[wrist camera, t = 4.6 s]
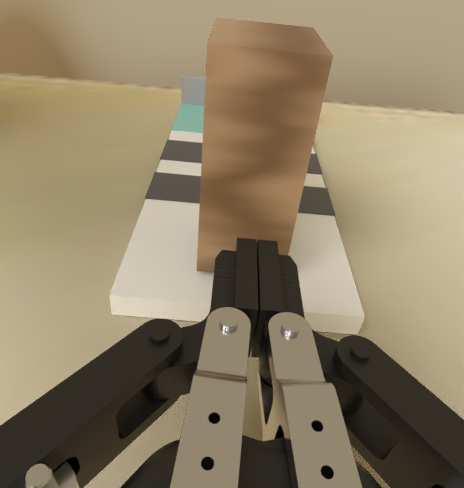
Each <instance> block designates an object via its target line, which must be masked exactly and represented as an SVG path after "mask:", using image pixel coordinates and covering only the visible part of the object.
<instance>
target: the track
mask: <svg viewBox="0 0 464 488" xmlns="http://www.w3.org/2000/svg"><path fill="white" fill-rule="evenodd" d="M205 80H206V77H200V76H190V75H183V76H182V104H181V106H180V108H179V111H178V114H177V116H176V119H175V121H174V124H173V127H172V129H171V134H170V137H169V139H168V140H167V142H166V145H165V147H164V150H163V153H162V155H161V158H160V163H159V166H158V168H157V171H156V172H155V173H154V176H153V178H152V181H151V184H150V186H149V189H148V191H147V194H146V197H145V202H144V205H143V208H142V210H141V213H140V216H139V218H138V221H137V223H136V226H135V229H134V231H133V234H132V237H131V239H130V242H129V244H128V247H127V250H126V252H125V255H124V258H123V260H122V263H121V265H120V268H119V271H118V273H117V276H116V279H115V281H114V284H113V286H112V289H111V292H110V294H109V298H110V306H111V313H112V314H113V315H125V316H137V317H149V318H161V319H174V320H186V321H198V322H201V321H203V320H204V319H205V318H206V317H207V315H208V314H209V312H210V307H211V297H212V287H213V277H214V273H213V272H201V271H197V250H198V229H199V208H200V186H201V165H202V144H203V123H204V102H205ZM288 256H291V258H292V259H293V261H294V262H295V263H296V265H297V269H298V278H299V283H300V285H299V286H300V290H301V297H302V303H303V310H304V316H305V320H307V322H308V323H309V324H310V326H311V329H313V330H314V331H319V332H331V333H343V334H355V335H358V333H359V330H360V328H361V326H362V323H363V321H364V319H365V314H364V311H363V308H362V305H361V301H360V298H359V295H358V292H357V288H356V285H355V282H354V279H353V276H352V272H351V269H350V266H349V263H348V259H347V256H346V253H345V250H344V246H343V243H342V240H341V237H340V233H339V230H338V227H337V224H336V220H335V213H334V210H333V206H332V203H331V200H330V197H329V194H328V190H327V188H325V185H324V181H323V178H322V171H321V168H320V165H319V162H318V158H317V155H316V154H315V152H314V149H313V147H312V152H311V156H310V160H309V165H308V169H307V174H306V178H305V183H304V187H303V192H302V196H301V200H300V205H299V209H298V214H297V218H296V223H295V227H294V232H293V236H292V240H291V245H290V249H289V254H288Z"/></svg>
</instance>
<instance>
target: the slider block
mask: <svg viewBox="0 0 464 488" xmlns="http://www.w3.org/2000/svg"><path fill="white" fill-rule="evenodd" d="M332 58H333V55H332V54H331V52H330V51H329V50H328V48H327V47H326V45H325V44H324V42H323V41H322V40H321V38H320V37H319V35H318V34H317V32H316V31H315V30H314V28H310V27H301V26H291V25H281V24H272V23H263V22H253V21H243V20H235V19H224V18H216V20H215V23H214V26H213V28H212V31H211V34H210V37H209V39H208V43H207V59H206V80H205V102H204V123H203V144H202V165H201V186H200V208H199V229H198V250H197V271H201V272H213V273H214V267H215V258H216V257H217V255H218V254H219V253H220V251H221V250H231V251H235V248H236V240H237V237H238V238H249V239H256V242H257V239H261V240H272V241H277V243H278V253H279V255H288V254H289V249H290V245H291V240H292V236H293V232H294V227H295V223H296V218H297V214H298V209H299V205H300V200H301V196H302V192H303V187H304V183H305V178H306V174H307V169H308V165H309V160H310V156H311V152H312V147H313V143H314V138H315V134H316V129H317V125H318V120H319V116H320V111H321V107H322V103H323V98H324V93H325V89H326V84H327V80H328V75H329V71H330V67H331V63H332Z"/></svg>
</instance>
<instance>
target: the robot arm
mask: <svg viewBox="0 0 464 488" xmlns="http://www.w3.org/2000/svg"><path fill="white" fill-rule="evenodd" d="M299 285H300V283H299V278H298V269H297V265H296V263H295V262H294V261H293V259H292V258H291V256H288V255H279V253H278V243H277V241H272V240H261V239H257V242H256V239H249V238H238V237H237V240H236V248H235V251H231V250H221V251H220V253H219V254H218V255H217V257H216V258H215V267H214V277H213V287H212V297H211V307H210V312H209V314H208V315H207V317H206V318H205V319H204V320H203V321H201V322H200V323H198V324H195V325H192V326H187V327H182V328H180V327H179V325H177V324H176V323H175V322H173V321H171V320H168V319H153V320H150V321H148V322H146V323H144V324H143V325H141V326H140V327H139V328H137V329H136V330H134V331H133V332H132V333H130V334H129V335H127V336H126V337H125V338H123V339H122V340H120V341H119V342H118V343H116V344H115V345H113V346H112V347H110V348H109V349H108V350H106V351H105V352H103V353H102V354H101V355H99V356H98V357H96V358H95V359H94V360H92V361H91V362H89V363H88V364H87V365H85V366H84V367H82V368H81V369H79V370H78V371H77V372H75V373H74V374H72V375H71V376H70V377H68V378H67V379H65V380H64V381H63V382H61V383H60V384H58V385H57V386H56V387H54V388H53V389H51V390H50V391H48V392H47V393H46V394H44V395H43V396H41V397H40V398H39V399H37V400H36V401H34V402H33V403H32V404H30V405H29V406H27V407H26V408H25V409H23V410H22V411H20V412H19V413H18V414H16V415H15V416H13V417H12V418H10V419H9V420H8V421H6V422H5V423H3V424H2V425H1V426H0V488H83V487H84V486H85V485H87V484H88V483H89V482H90V481H91V480H92V479H93V478H94V477H95V476H96V475H97V474H98V473H99V472H101V471H102V470H103V469H104V468H105V467H106V466H107V465H108V464H109V463H110V462H111V461H112V460H113V459H114V458H116V457H117V456H118V455H119V454H120V453H121V452H122V451H123V450H124V449H125V448H126V447H127V446H128V445H130V444H131V443H132V442H133V441H134V440H135V439H136V438H137V437H138V436H139V435H140V434H141V433H142V432H144V431H145V430H146V429H147V428H148V427H149V426H150V425H151V424H152V423H153V422H154V421H155V420H156V419H158V418H159V417H160V416H161V415H162V414H163V413H164V412H165V411H166V410H167V409H168V408H169V407H170V406H172V405H173V404H174V403H175V402H176V401H177V400H178V398H179V397H180V395H184V394H188V393H190V395H189V399H188V404H187V409H186V414H185V418H184V423H183V428H182V433H181V437H180V439H179V440H176V441H173V442H171V443H169V444H167V445H165V446H164V447H162V448H160V449H159V450H157V451H156V452H155V453H154V454H153V455H151V456H150V457H149V458H148V459H147V460H146V461H145V462H144V463H143V464H142V465H141V466H140V467H139V468H138V470H137V471H136V472H135V473H134V474H133V475H132V476H131V477H130V478H129V479H128V480H127V481H126V482H125V483H124V484H123V485H122V487H121V488H382V487H381V486H380V485H379V484H378V482H377V481H376V480H375V479H374V478H373V477H372V476H371V474H370V473H369V472H368V471H367V470H366V469H365V468H364V467H362V466H361V465H360V464H359V463H358V462H356V461H355V459H354V455H353V452H352V448H351V445H352V446H353V447H354V448H355V449H356V450H357V451H358V452H359V454H360V455H361V456H362V457H363V458H364V459H365V460H366V461H367V462H368V463H369V464H370V466H371V467H372V468H373V469H374V470H375V471H376V472H377V473H378V474H379V475H380V476H381V478H382V479H383V480H384V481H385V482H386V483H387V484H388V485H389V486H390V487H391V488H464V420H463V419H462V418H461V417H460V416H459V415H457V414H456V413H455V412H454V411H453V410H451V409H450V408H449V407H448V406H447V405H446V404H444V403H443V402H442V401H441V400H440V399H439V398H437V397H436V396H435V395H434V394H433V393H432V392H430V391H429V390H428V389H427V388H426V387H425V386H423V385H422V384H421V383H420V382H419V381H418V380H416V379H415V378H414V377H413V376H412V375H411V374H409V373H408V372H407V371H406V370H405V369H403V368H402V367H401V366H400V365H399V364H398V363H396V362H395V361H394V360H393V359H392V358H391V357H389V356H388V355H387V354H386V353H385V352H384V351H382V350H381V349H380V348H379V347H378V346H377V345H375V344H374V343H373V342H372V341H370V340H368V339H366V338H364V337H361V336H353V335H352V336H346V337H344V338H342V339H341V340H340V341H339V342H338V341H335V340H332V339H329V338H326V337H324V336H321V335H320V334H318V333H316V332H315V331H314V330H313V329H311V326H310V324H309V323H308V322H307V320H305V316H304V310H303V303H302V297H301V290H300V286H299ZM250 352H251V357H258V358H259V370H258V375H257V383H258V392H259V402H260V411H261V421H262V441H259V440H255V439H252V438H250V437H247V436H244V435H242V433H243V421H244V410H245V398H246V387H247V379H246V372H247V361H248V357H250Z"/></svg>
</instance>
